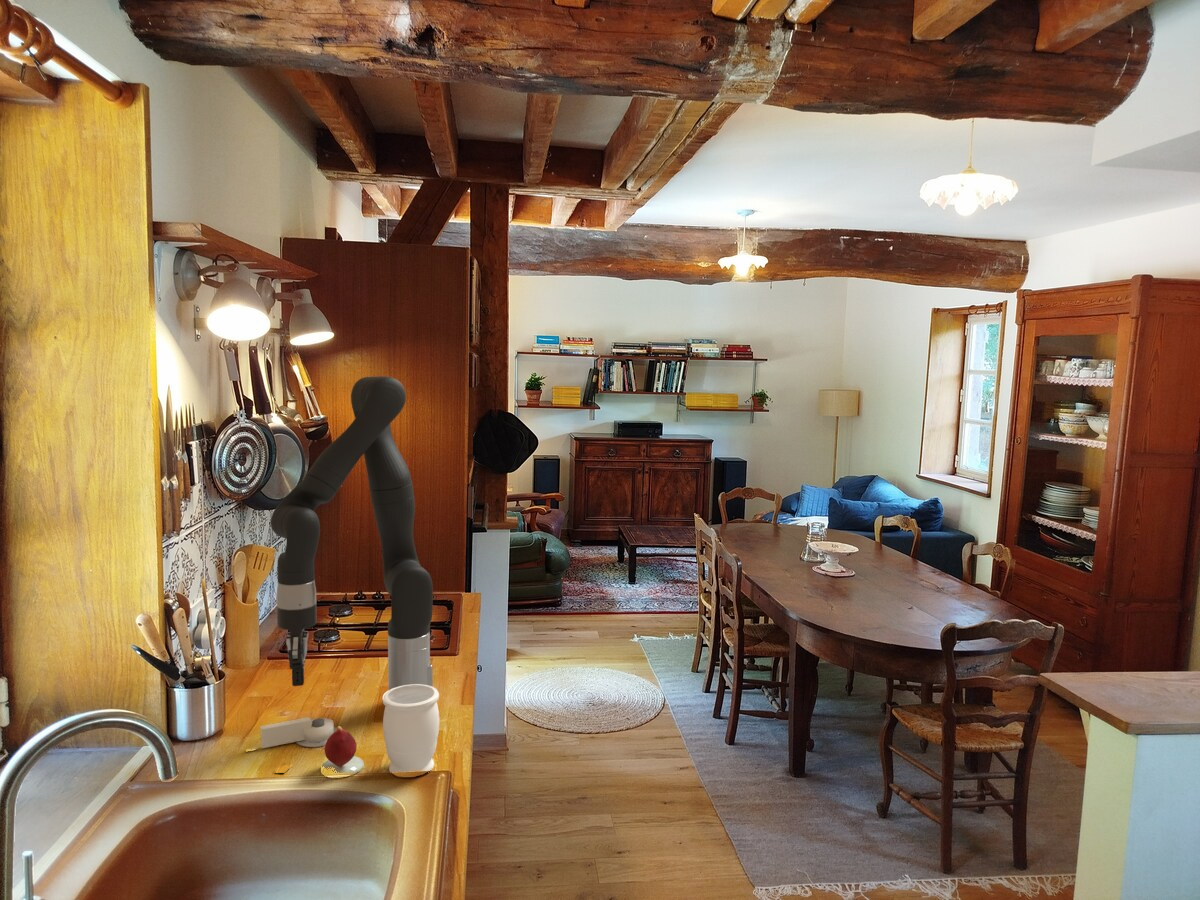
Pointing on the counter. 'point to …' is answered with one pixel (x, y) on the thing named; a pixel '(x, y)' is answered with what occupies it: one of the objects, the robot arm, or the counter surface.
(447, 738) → the counter surface
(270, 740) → the handle
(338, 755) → the onion
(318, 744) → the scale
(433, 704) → the jar
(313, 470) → the robot arm
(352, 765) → the coaster
